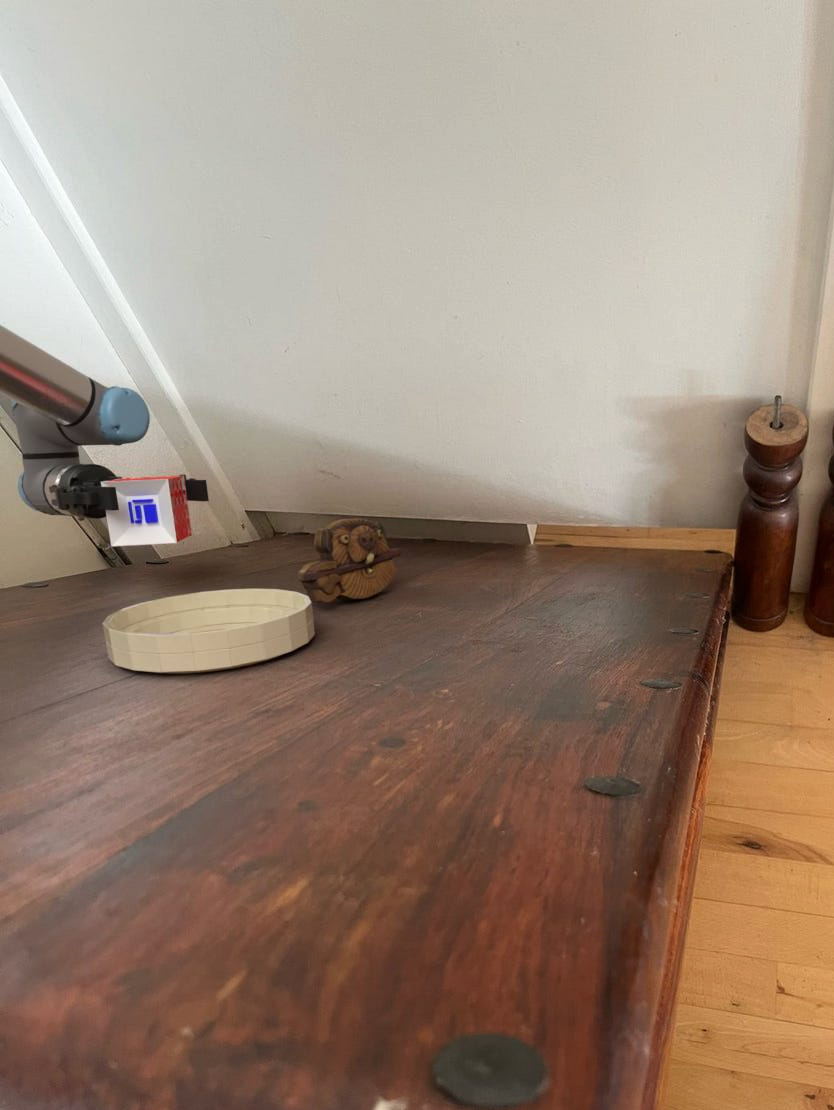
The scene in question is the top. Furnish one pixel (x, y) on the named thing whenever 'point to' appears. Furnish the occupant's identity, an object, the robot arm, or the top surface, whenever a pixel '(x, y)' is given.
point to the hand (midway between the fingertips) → (161, 494)
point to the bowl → (208, 630)
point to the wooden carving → (349, 562)
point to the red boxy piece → (149, 511)
